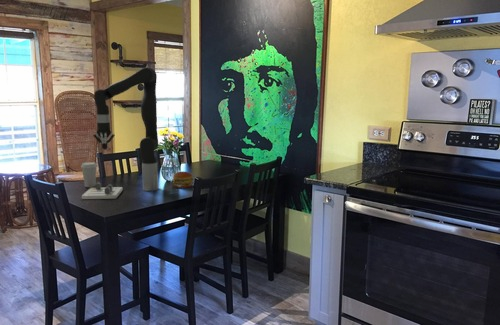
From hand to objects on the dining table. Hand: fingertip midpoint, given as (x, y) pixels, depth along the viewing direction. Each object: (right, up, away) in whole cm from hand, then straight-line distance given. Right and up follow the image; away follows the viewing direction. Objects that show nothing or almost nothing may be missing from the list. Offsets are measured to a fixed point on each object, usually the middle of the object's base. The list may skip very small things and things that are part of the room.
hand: (104, 149), depth 261 cm
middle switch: (+7, -25, -12) cm, 29 cm away
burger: (+48, -24, +10) cm, 54 cm away
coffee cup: (-13, -24, +9) cm, 29 cm away
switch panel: (+3, -28, -12) cm, 30 cm away
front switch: (+8, -26, -18) cm, 33 cm away
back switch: (-1, -24, -7) cm, 25 cm away
